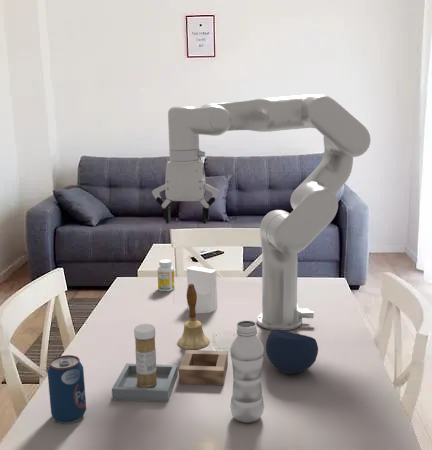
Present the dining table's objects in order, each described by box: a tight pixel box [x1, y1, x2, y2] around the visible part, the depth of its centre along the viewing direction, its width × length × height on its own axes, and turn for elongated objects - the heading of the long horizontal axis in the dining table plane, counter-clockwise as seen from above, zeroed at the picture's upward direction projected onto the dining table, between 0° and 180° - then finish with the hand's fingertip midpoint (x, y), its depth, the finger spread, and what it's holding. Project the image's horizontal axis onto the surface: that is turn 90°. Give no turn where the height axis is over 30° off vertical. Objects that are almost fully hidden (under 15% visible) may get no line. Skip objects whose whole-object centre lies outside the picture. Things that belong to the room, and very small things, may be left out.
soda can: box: [47, 354, 87, 424], centre depth 120 cm, size 7×7×12 cm
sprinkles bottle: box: [133, 323, 157, 388], centre depth 131 cm, size 5×5×14 cm
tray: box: [111, 362, 179, 403], centre depth 133 cm, size 12×12×2 cm
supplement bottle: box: [157, 258, 175, 292], centre depth 196 cm, size 5×5×10 cm
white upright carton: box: [186, 265, 218, 314], centre depth 178 cm, size 9×9×12 cm
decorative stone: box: [265, 329, 319, 375], centre depth 138 cm, size 12×12×10 cm
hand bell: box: [177, 284, 210, 350], centre depth 154 cm, size 8×8×16 cm
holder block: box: [178, 349, 229, 386], centre depth 138 cm, size 10×10×4 cm
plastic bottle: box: [229, 320, 265, 424], centre depth 117 cm, size 6×7×20 cm
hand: (186, 222), depth 155 cm, fingers open, 9 cm apart
